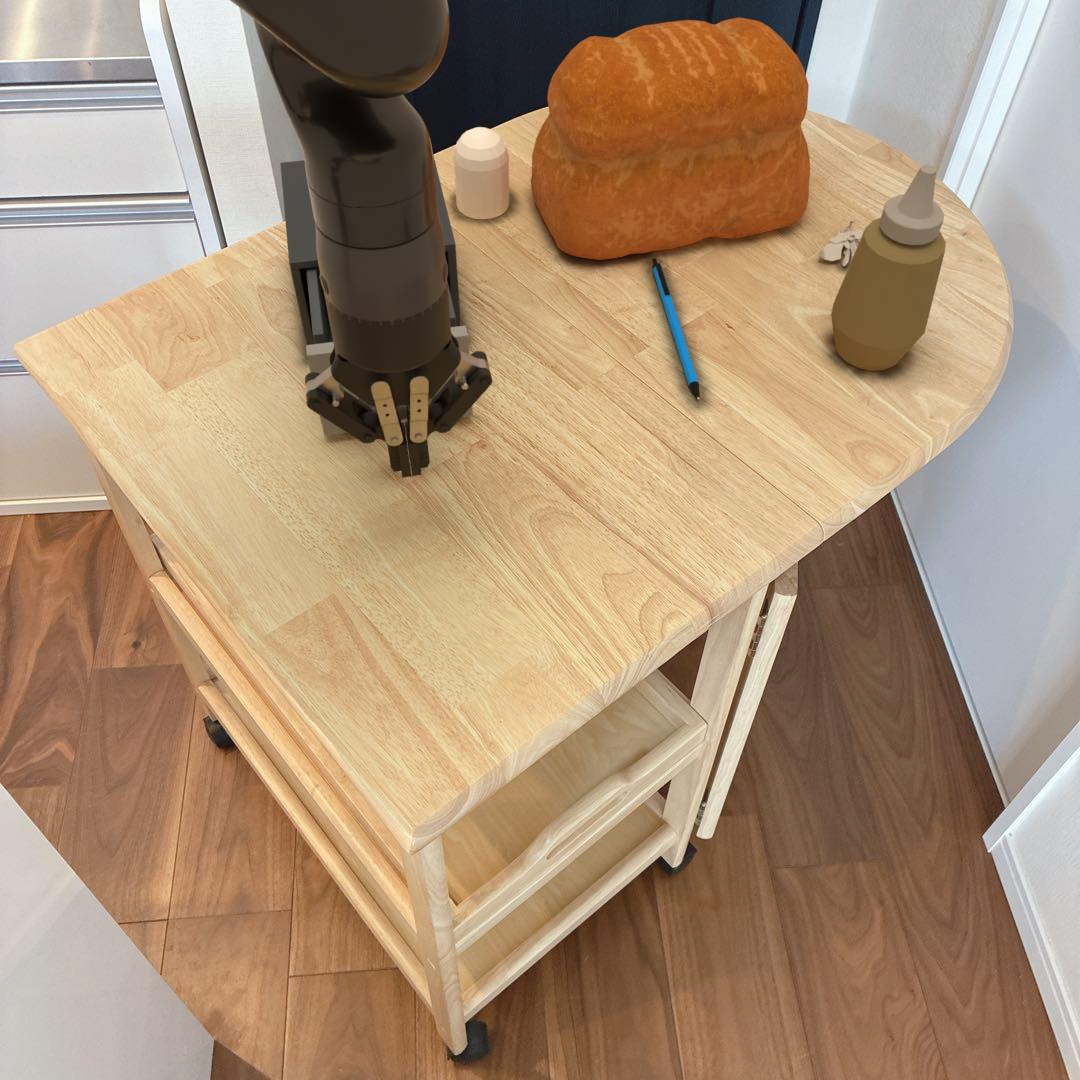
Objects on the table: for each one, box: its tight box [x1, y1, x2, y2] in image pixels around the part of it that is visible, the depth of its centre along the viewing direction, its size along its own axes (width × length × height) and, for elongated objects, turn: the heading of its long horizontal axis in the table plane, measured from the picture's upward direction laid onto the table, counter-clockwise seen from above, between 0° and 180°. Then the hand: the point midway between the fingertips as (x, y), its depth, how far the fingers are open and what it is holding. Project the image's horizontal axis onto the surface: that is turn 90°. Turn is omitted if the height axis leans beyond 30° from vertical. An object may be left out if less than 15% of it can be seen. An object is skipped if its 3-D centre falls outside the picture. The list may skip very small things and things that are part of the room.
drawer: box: [305, 267, 474, 437], centre depth 86 cm, size 18×12×9 cm
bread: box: [530, 16, 811, 261], centre depth 100 cm, size 16×26×17 cm, turn 106°
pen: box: [651, 257, 700, 401], centre depth 95 cm, size 1×19×1 cm, turn 8°
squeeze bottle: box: [830, 164, 947, 372], centre depth 87 cm, size 8×8×18 cm
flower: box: [817, 219, 864, 267], centre depth 101 cm, size 8×8×3 cm
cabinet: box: [279, 150, 462, 345], centre depth 93 cm, size 14×13×10 cm
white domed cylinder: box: [453, 126, 510, 220], centre depth 104 cm, size 5×5×8 cm
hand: (410, 467), depth 78 cm, fingers closed
